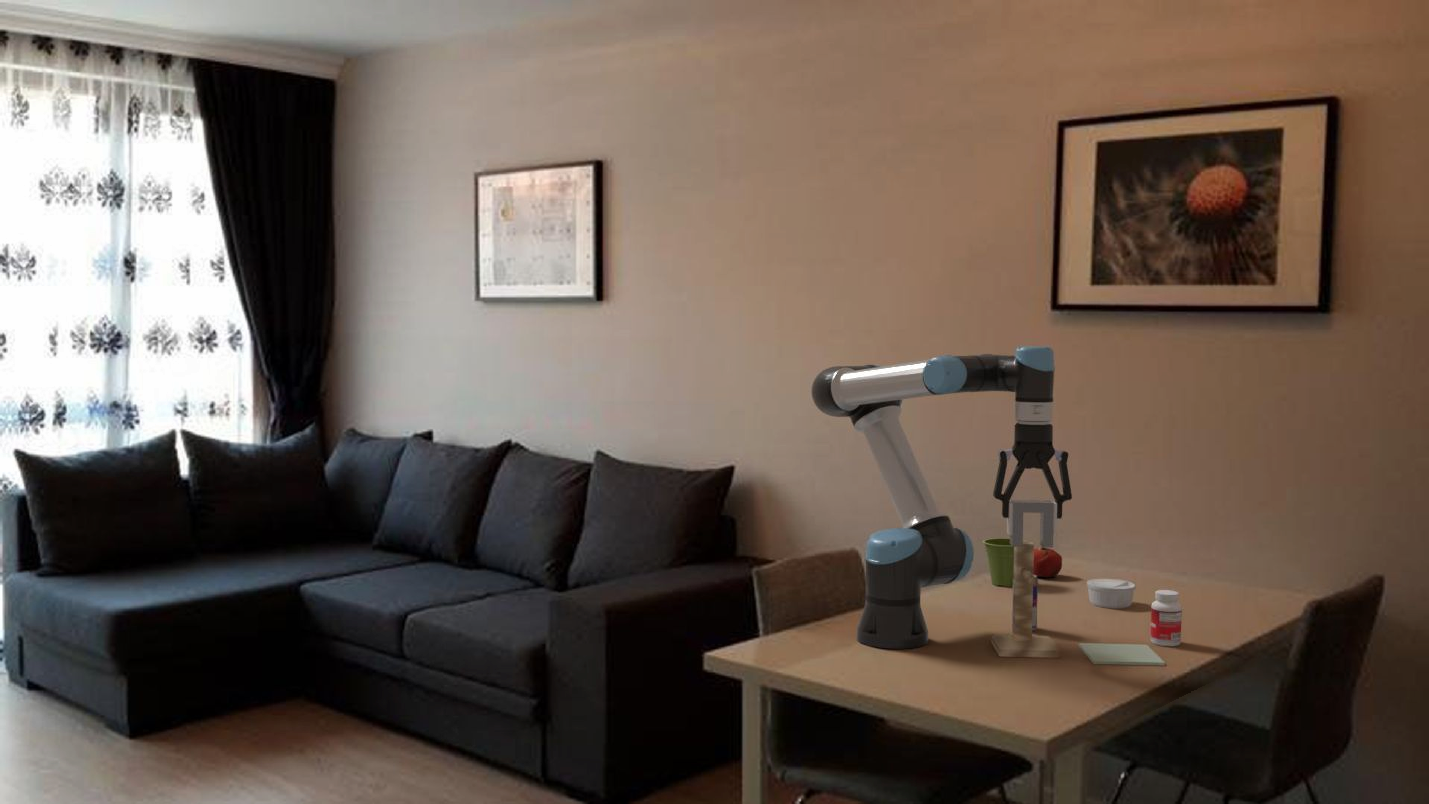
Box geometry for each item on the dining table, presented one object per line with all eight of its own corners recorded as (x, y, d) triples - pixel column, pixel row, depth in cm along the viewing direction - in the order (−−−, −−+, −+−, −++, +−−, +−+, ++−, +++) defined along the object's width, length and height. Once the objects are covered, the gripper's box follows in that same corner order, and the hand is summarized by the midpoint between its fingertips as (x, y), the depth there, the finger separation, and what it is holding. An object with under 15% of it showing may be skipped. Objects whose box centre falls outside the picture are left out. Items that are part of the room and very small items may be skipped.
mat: (1093, 663, 255) (1093, 660, 255) (1078, 645, 269) (1078, 643, 269) (1164, 665, 254) (1165, 662, 254) (1146, 647, 268) (1146, 644, 268)
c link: (1012, 546, 258) (1013, 502, 257) (1010, 543, 261) (1010, 500, 261) (1052, 547, 257) (1053, 503, 257) (1049, 544, 261) (1050, 500, 260)
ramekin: (1138, 610, 302) (1139, 588, 302) (1089, 609, 304) (1090, 587, 304) (1130, 600, 313) (1131, 579, 313) (1083, 598, 315) (1084, 577, 315)
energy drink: (1037, 632, 280) (1038, 578, 280) (1012, 631, 282) (1013, 577, 281) (1036, 626, 286) (1037, 573, 285) (1011, 625, 287) (1012, 572, 286)
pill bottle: (1151, 638, 276) (1153, 588, 275) (1181, 641, 273) (1183, 590, 272) (1149, 645, 270) (1150, 593, 269) (1179, 648, 268) (1181, 596, 267)
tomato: (1040, 572, 348) (1041, 543, 347) (1069, 577, 341) (1069, 547, 340) (1019, 576, 342) (1020, 546, 341) (1048, 581, 335) (1049, 551, 334)
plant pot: (1001, 577, 340) (1001, 536, 339) (1038, 585, 330) (1039, 542, 330) (972, 583, 332) (973, 540, 331) (1009, 591, 323) (1010, 547, 322)
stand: (1001, 660, 258) (1003, 552, 256) (991, 641, 272) (992, 539, 271) (1061, 661, 257) (1064, 553, 255) (1048, 642, 271) (1050, 540, 270)
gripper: (984, 423, 255) (981, 536, 256) (1090, 424, 253) (1087, 538, 255) (979, 420, 262) (977, 530, 264) (1082, 421, 261) (1079, 531, 262)
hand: (1031, 534), depth 259 cm, fingers closed on c link, 8 cm apart
